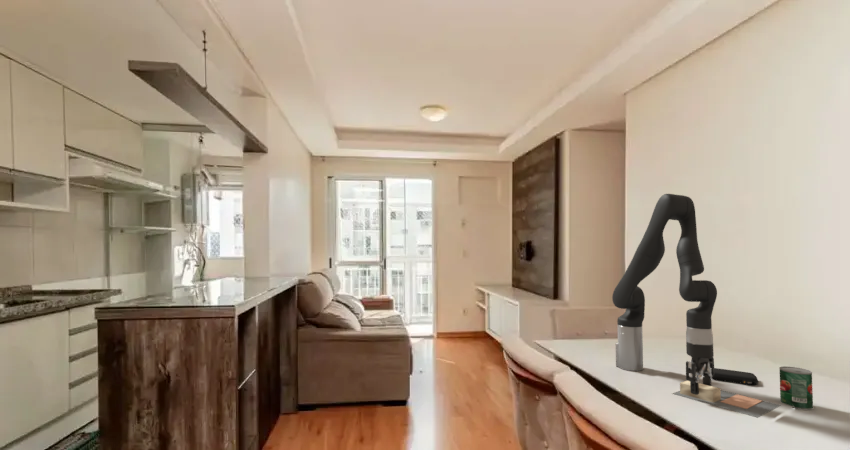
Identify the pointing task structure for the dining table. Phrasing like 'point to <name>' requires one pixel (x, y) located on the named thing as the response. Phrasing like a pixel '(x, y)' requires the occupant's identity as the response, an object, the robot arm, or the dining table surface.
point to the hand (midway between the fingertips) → (701, 391)
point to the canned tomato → (796, 387)
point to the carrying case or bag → (735, 376)
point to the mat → (739, 403)
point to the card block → (701, 392)
